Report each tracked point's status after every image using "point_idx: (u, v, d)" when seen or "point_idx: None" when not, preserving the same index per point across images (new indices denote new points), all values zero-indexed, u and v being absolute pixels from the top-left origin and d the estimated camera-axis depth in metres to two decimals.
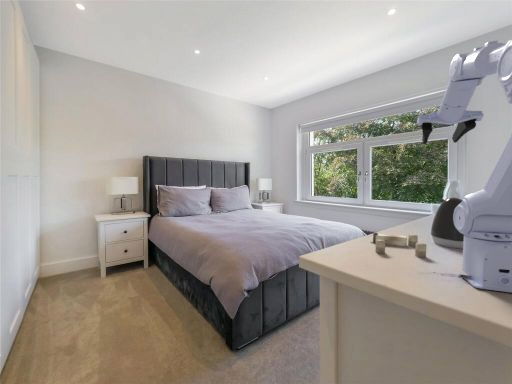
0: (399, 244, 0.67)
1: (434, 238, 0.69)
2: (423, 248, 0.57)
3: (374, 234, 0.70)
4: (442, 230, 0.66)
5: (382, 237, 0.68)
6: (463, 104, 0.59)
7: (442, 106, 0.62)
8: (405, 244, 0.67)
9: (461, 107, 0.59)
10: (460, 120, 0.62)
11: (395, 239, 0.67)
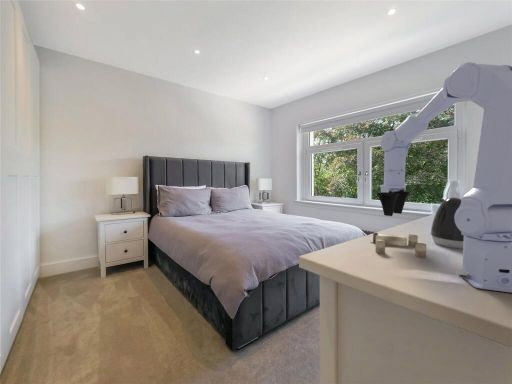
0: (399, 244, 0.67)
1: (434, 238, 0.69)
2: (423, 248, 0.57)
3: (374, 234, 0.70)
4: (442, 230, 0.66)
5: (382, 237, 0.68)
6: (403, 168, 0.70)
7: (393, 173, 0.70)
8: (405, 244, 0.67)
9: None
10: None
11: (395, 239, 0.67)
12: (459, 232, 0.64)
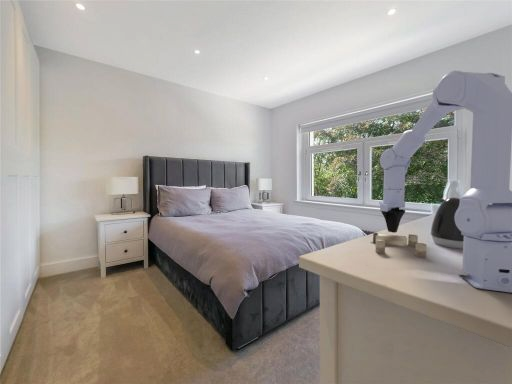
0: (399, 244, 0.67)
1: (434, 238, 0.69)
2: (423, 248, 0.57)
3: (374, 234, 0.70)
4: (442, 230, 0.66)
5: (382, 237, 0.68)
6: (402, 187, 0.70)
7: (392, 192, 0.70)
8: (405, 244, 0.67)
9: (404, 190, 0.71)
10: None
11: (395, 239, 0.67)
12: (459, 232, 0.64)
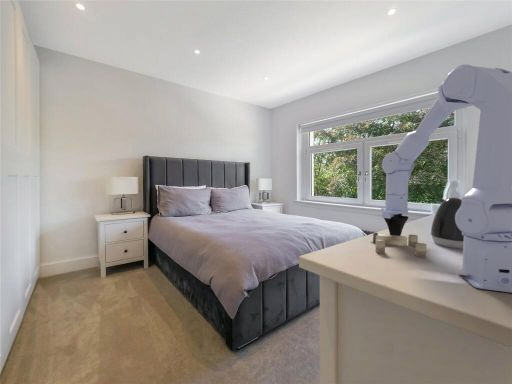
0: (399, 244, 0.67)
1: (434, 238, 0.69)
2: (423, 248, 0.57)
3: (374, 234, 0.70)
4: (442, 230, 0.66)
5: (382, 237, 0.68)
6: (406, 193, 0.67)
7: (395, 197, 0.67)
8: (405, 244, 0.66)
9: (407, 195, 0.68)
10: (407, 209, 0.69)
11: (395, 239, 0.67)
12: (459, 232, 0.64)
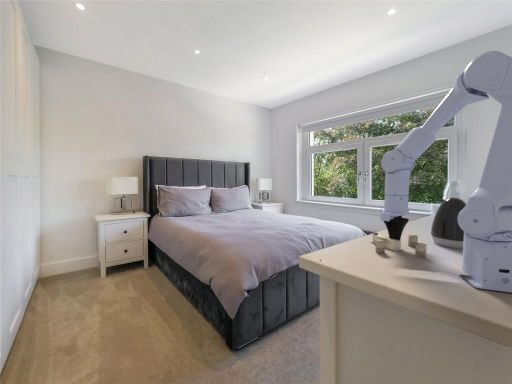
0: (389, 247, 0.64)
1: (434, 238, 0.69)
2: (423, 248, 0.57)
3: (373, 234, 0.70)
4: (442, 230, 0.66)
5: (377, 237, 0.68)
6: (408, 193, 0.62)
7: (395, 198, 0.62)
8: (393, 248, 0.62)
9: (408, 196, 0.63)
10: (408, 211, 0.64)
11: (386, 241, 0.65)
12: (459, 232, 0.64)
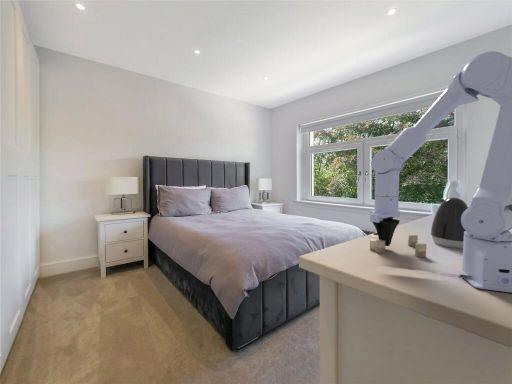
0: None
1: (434, 238, 0.69)
2: (423, 248, 0.57)
3: None
4: (442, 230, 0.66)
5: None
6: (398, 194, 0.62)
7: (384, 199, 0.61)
8: None
9: (398, 197, 0.62)
10: (398, 212, 0.63)
11: None
12: (459, 232, 0.64)
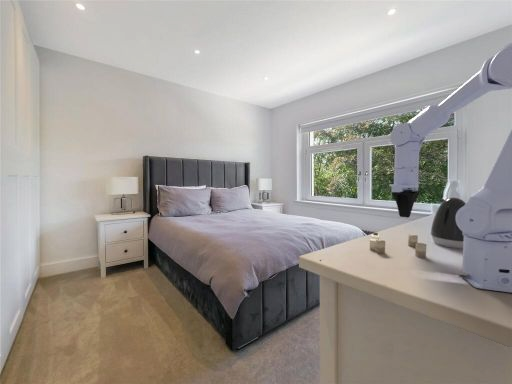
0: None
1: (434, 238, 0.69)
2: (423, 248, 0.57)
3: None
4: (442, 230, 0.66)
5: None
6: (417, 165, 0.62)
7: (405, 171, 0.62)
8: None
9: None
10: None
11: None
12: (459, 232, 0.64)
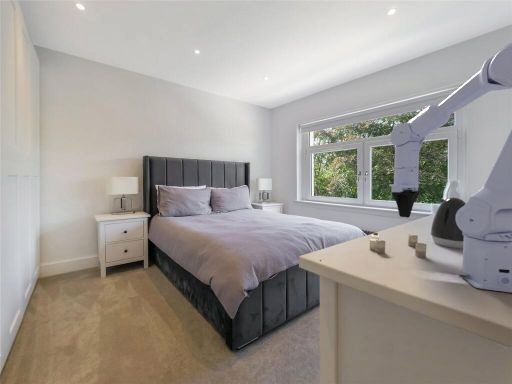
0: None
1: (434, 238, 0.69)
2: (423, 248, 0.57)
3: None
4: (442, 230, 0.66)
5: None
6: (417, 165, 0.62)
7: (405, 171, 0.62)
8: None
9: None
10: None
11: None
12: (459, 232, 0.64)
